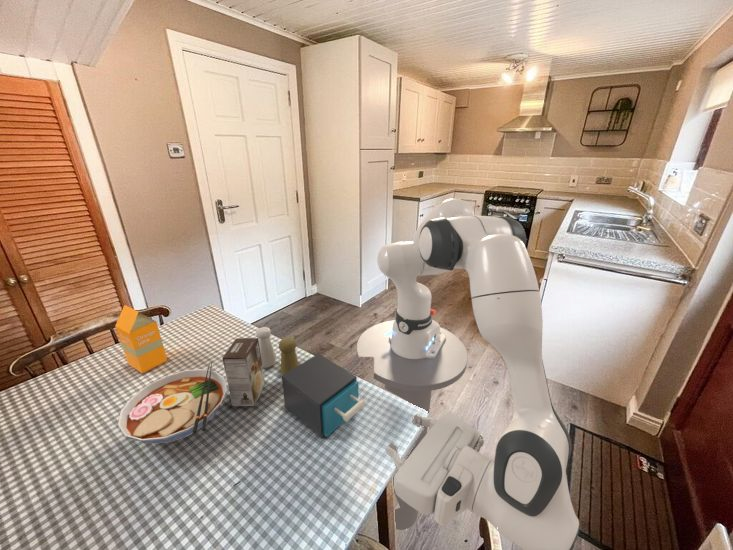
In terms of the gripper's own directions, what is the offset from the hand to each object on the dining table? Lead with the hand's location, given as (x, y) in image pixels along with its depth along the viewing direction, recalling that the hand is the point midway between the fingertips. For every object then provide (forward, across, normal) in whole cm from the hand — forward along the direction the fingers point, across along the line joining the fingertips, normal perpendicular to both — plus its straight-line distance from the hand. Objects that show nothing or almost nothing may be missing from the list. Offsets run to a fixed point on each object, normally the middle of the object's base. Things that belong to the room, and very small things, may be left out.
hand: (401, 432), depth 62 cm
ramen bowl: (+49, +26, +11) cm, 56 cm away
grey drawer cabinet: (+26, 0, +10) cm, 28 cm away
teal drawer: (+22, 0, +10) cm, 24 cm away
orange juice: (+83, +24, +10) cm, 87 cm away
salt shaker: (+53, -1, +10) cm, 54 cm away
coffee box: (+45, +10, +11) cm, 47 cm away
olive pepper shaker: (+45, -4, +10) cm, 46 cm away
